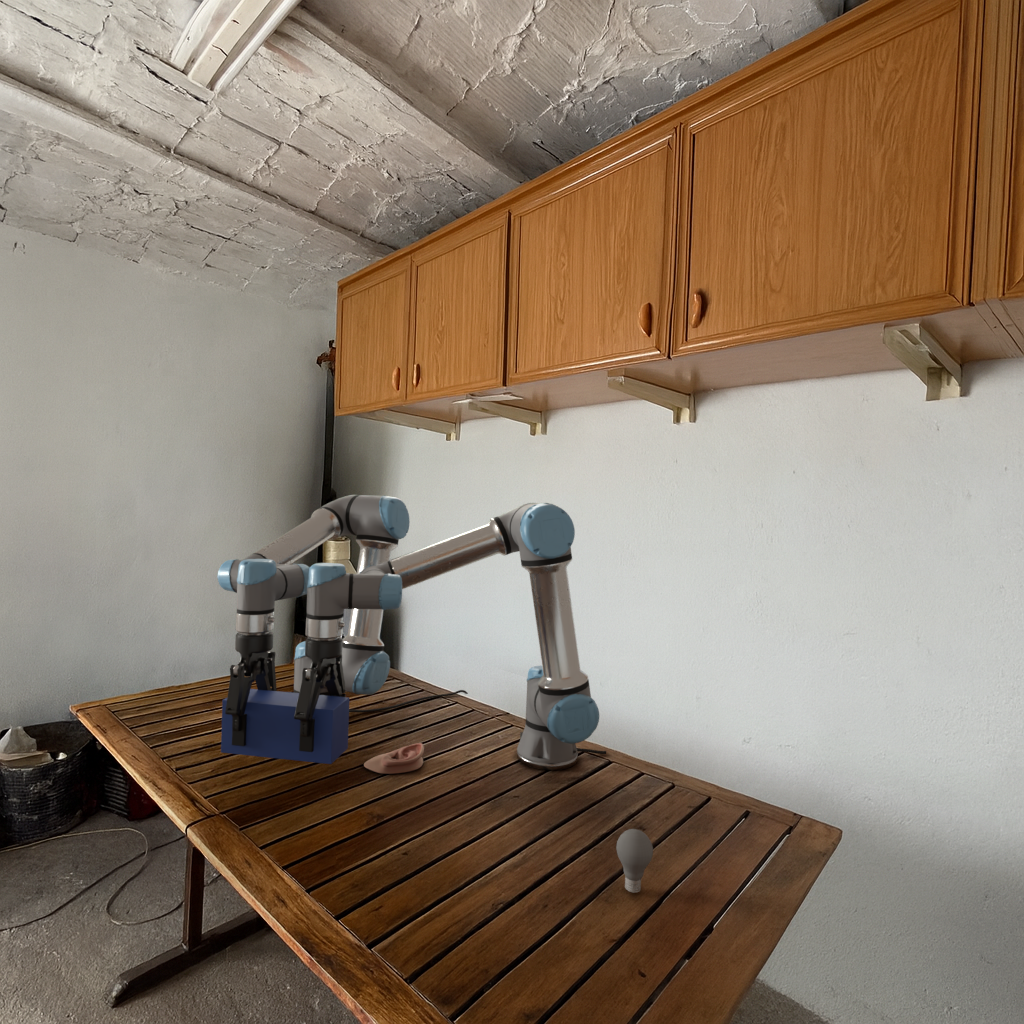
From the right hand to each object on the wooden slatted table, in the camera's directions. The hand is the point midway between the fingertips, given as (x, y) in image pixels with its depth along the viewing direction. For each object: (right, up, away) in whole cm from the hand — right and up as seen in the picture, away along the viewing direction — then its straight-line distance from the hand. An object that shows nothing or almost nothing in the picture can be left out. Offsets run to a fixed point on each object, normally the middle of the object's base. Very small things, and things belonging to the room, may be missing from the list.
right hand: (320, 739), depth 133 cm
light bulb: (+60, -16, -28) cm, 68 cm away
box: (-8, -3, +1) cm, 8 cm away
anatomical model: (+12, -13, +18) cm, 25 cm away
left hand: (-16, 0, +2) cm, 16 cm away
